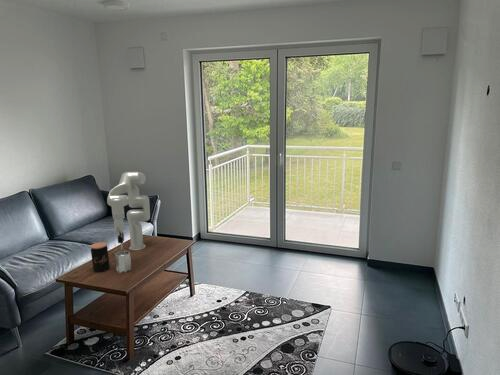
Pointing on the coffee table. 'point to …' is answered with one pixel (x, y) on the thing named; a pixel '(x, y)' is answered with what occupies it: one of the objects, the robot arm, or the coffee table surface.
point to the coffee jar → (100, 256)
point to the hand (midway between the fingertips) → (121, 241)
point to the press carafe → (123, 262)
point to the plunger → (122, 249)
